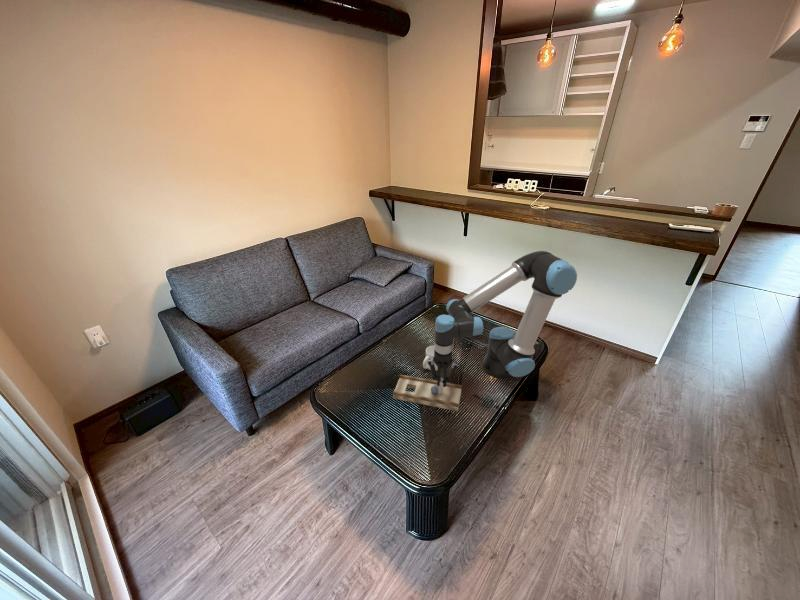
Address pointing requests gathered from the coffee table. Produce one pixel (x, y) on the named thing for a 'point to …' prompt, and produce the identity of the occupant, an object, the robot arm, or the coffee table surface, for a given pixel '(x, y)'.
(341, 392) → the coffee table surface
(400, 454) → the coffee table surface
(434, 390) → the ball
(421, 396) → the tray
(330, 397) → the coffee table surface
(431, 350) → the mug
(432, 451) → the coffee table surface
